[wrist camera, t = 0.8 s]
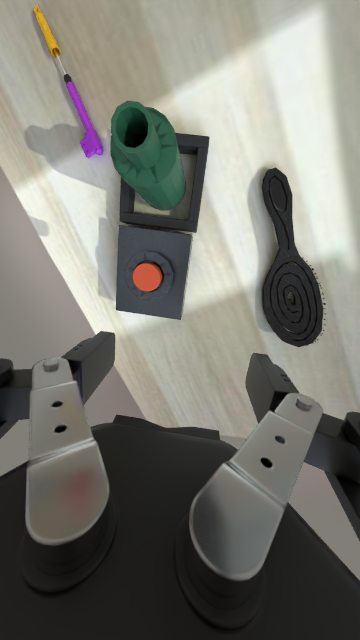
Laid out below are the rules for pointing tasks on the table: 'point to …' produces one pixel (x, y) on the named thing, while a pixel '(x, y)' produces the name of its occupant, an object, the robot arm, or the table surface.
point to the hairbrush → (278, 286)
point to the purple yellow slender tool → (71, 92)
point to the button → (147, 276)
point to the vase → (147, 154)
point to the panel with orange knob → (161, 251)
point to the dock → (199, 148)
